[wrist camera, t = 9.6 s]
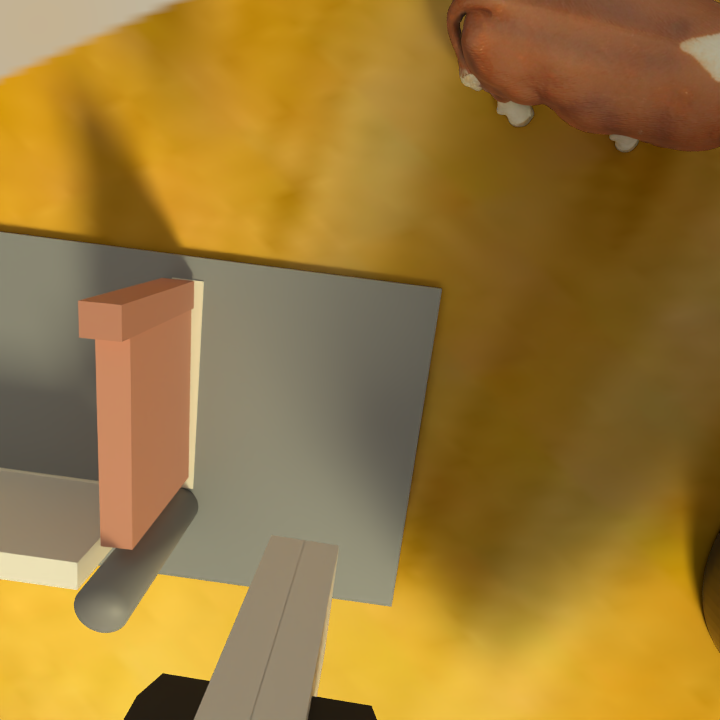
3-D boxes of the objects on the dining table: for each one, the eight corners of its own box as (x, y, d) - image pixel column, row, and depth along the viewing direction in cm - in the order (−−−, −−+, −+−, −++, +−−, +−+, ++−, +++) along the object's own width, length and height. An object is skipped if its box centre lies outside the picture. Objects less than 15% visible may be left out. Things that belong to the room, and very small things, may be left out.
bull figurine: (723, 218, 23) (895, 220, 15) (419, 97, 23) (435, 34, 15) (780, 111, 22) (997, 53, 14) (463, -19, 22) (505, -154, 14)
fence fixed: (199, 489, 27) (129, 588, 20) (197, 526, 28) (128, 636, 20) (-43, 455, 27) (-199, 542, 20) (-40, 493, 28) (-192, 590, 21)
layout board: (441, 288, 24) (442, 289, 24) (391, 602, 28) (391, 607, 28) (-54, 224, 25) (-61, 224, 25) (-35, 542, 29) (-40, 546, 29)
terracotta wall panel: (162, 277, 24) (78, 300, 18) (194, 280, 24) (121, 305, 18) (161, 474, 27) (86, 558, 20) (190, 477, 27) (125, 563, 20)
